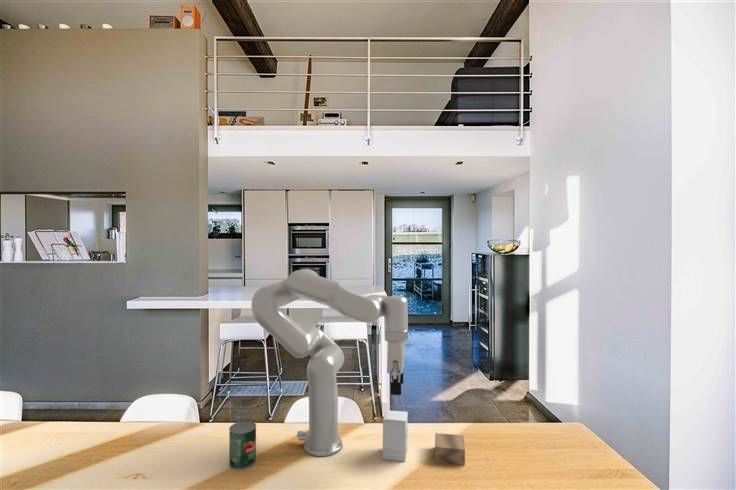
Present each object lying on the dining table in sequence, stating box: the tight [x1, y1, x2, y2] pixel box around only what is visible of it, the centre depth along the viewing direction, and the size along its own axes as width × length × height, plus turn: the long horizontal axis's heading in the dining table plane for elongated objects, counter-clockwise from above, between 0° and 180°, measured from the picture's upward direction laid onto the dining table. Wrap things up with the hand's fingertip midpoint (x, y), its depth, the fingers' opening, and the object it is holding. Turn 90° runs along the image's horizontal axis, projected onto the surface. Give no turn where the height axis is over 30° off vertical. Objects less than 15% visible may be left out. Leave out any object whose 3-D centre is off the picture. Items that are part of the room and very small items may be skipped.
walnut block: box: [434, 432, 466, 466], centre depth 125 cm, size 9×9×5 cm
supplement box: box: [382, 410, 409, 462], centre depth 126 cm, size 7×7×13 cm
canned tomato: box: [228, 420, 257, 471], centre depth 121 cm, size 8×8×11 cm
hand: (397, 388), depth 126 cm, fingers open, 9 cm apart
